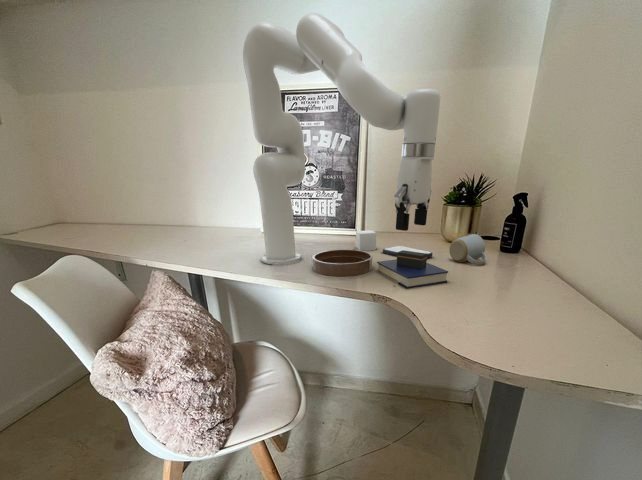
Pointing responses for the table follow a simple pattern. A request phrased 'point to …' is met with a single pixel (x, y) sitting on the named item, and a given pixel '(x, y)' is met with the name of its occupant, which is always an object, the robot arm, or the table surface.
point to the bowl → (342, 262)
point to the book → (413, 274)
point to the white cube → (366, 240)
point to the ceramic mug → (468, 249)
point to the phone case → (399, 248)
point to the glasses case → (411, 259)
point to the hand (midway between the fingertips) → (411, 227)
